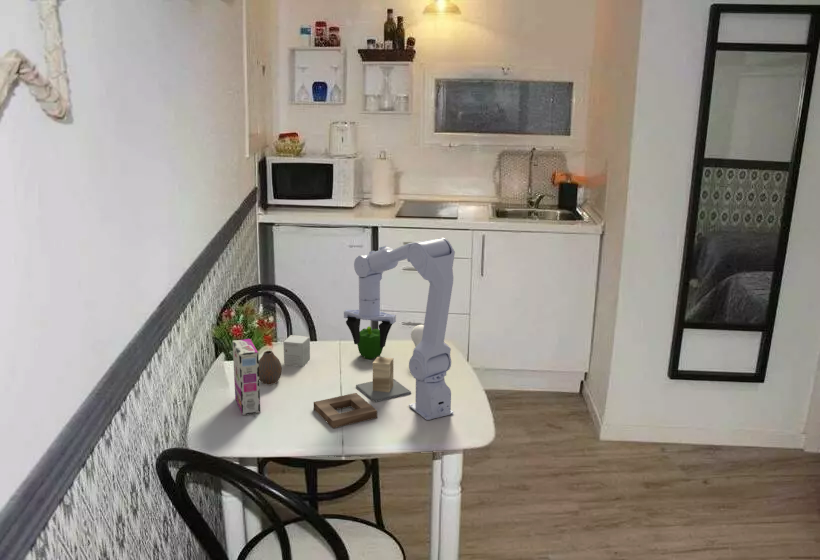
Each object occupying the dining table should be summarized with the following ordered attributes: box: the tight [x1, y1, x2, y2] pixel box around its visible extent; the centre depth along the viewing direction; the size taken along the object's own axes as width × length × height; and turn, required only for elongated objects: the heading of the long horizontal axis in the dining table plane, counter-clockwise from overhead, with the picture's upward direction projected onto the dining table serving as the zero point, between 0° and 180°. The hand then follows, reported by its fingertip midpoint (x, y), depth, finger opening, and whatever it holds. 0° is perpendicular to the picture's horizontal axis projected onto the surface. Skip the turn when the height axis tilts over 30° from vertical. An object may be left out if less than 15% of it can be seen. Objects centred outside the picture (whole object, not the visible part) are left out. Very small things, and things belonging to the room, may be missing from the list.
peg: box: [372, 356, 394, 392], centre depth 202 cm, size 4×4×8 cm
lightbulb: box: [410, 324, 424, 348], centre depth 223 cm, size 6×6×11 cm
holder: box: [313, 392, 378, 429], centre depth 189 cm, size 12×12×2 cm
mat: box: [355, 378, 412, 403], centre depth 203 cm, size 11×11×1 cm
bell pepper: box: [356, 325, 384, 360], centre depth 226 cm, size 8×8×10 cm
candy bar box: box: [232, 338, 261, 416], centre depth 191 cm, size 11×5×16 cm, turn 22°
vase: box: [259, 350, 283, 385], centre depth 207 cm, size 7×7×9 cm
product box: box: [283, 334, 311, 367], centre depth 221 cm, size 6×6×7 cm
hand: (369, 344), depth 207 cm, fingers open, 7 cm apart
